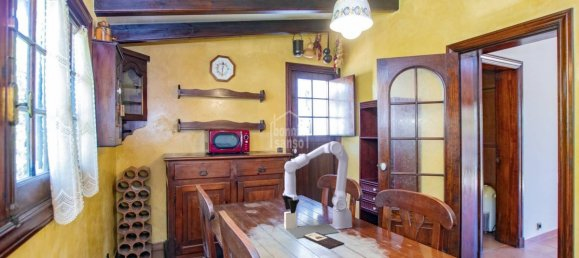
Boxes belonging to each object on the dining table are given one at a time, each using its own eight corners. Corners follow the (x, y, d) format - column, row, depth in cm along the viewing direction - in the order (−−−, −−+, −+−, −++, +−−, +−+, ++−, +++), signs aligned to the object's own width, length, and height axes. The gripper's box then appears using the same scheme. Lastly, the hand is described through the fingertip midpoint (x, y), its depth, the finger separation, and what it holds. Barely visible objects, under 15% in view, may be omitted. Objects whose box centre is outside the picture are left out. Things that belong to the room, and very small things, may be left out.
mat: (325, 224, 160) (325, 223, 160) (338, 232, 147) (338, 231, 147) (286, 229, 152) (286, 228, 152) (296, 238, 139) (296, 237, 139)
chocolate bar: (329, 247, 127) (302, 235, 141) (329, 250, 127) (302, 237, 141) (344, 242, 132) (316, 231, 147) (344, 245, 132) (316, 233, 147)
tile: (295, 226, 157) (295, 210, 157) (296, 227, 155) (296, 211, 155) (284, 227, 155) (284, 212, 155) (285, 228, 153) (285, 213, 153)
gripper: (278, 182, 161) (278, 208, 161) (287, 187, 147) (287, 215, 147) (290, 182, 163) (291, 207, 163) (301, 186, 149) (301, 214, 149)
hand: (290, 211), depth 155 cm, fingers open, 7 cm apart
